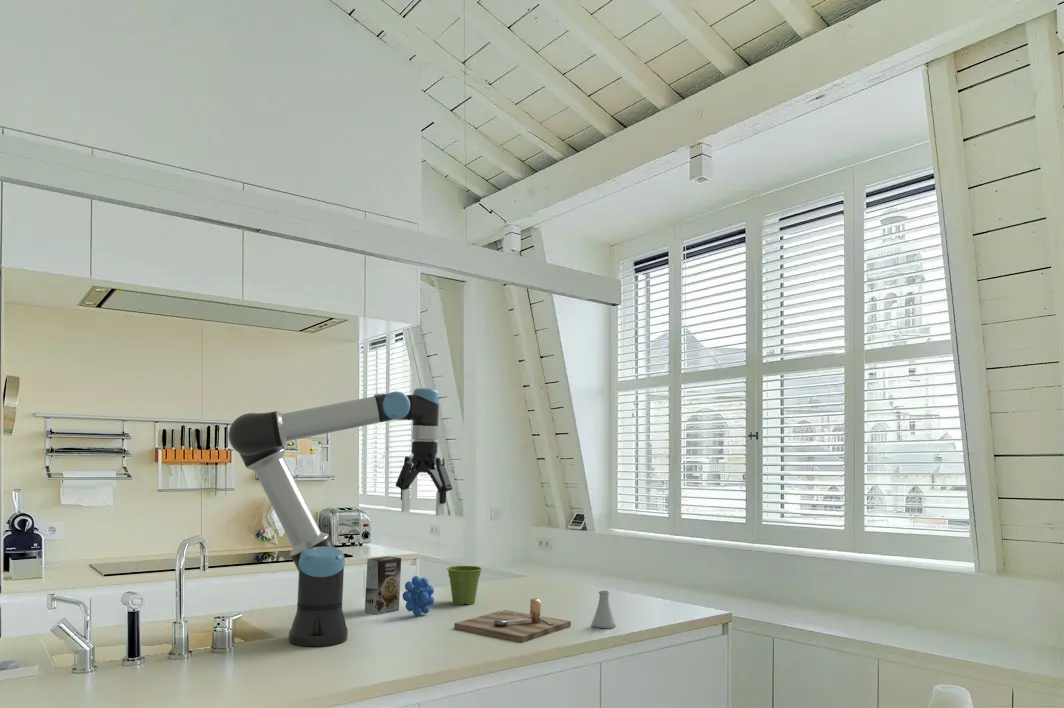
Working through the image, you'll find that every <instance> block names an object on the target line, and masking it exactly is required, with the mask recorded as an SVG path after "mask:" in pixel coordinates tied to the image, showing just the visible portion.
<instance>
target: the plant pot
mask: <svg viewBox="0 0 1064 708" xmlns="http://www.w3.org/2000/svg"><path fill="white" fill-rule="evenodd" d="M446 570H447V572H448V577H449V582H450V589H451V590H450V591H451V597H452V598H451V599H452V603H453V604H454V605H462V606H463V605H465V604H466V605H472V604H474V603H476V597H477V591H478V585H479V579H480V577H481V572H482V570H483V567H481V566H476V565H453V566H448V567H446Z"/></svg>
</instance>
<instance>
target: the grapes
mask: <svg viewBox="0 0 1064 708" xmlns="http://www.w3.org/2000/svg"><path fill="white" fill-rule="evenodd" d="M429 584H430V583H429V579H427V578H426V577H422V578H420V577H419V576H418V575H414V576H413V577H412V578H411V580H410V581H409V580H408V581H406V582H405V584H404V588H405V591H403V593H402V599H403V601H405V602H406V603H405V608H406V611H408V612H412V613H413V615H414V616H416V617H420V616H421V614H425V615H426V614H428V613H429V612H430V607H431V606H434V603H435V598H434V597H433V596H432V595H434V592H435V590H434V587H433V586H432V585H431V584H430V585H429Z"/></svg>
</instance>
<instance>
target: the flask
mask: <svg viewBox="0 0 1064 708" xmlns="http://www.w3.org/2000/svg"><path fill="white" fill-rule="evenodd" d="M598 594H599V599H598V605H597V608H596V611H595V613H594V616H593V619H592V621H591V626H592V627H594V628H599V629H613V628H615V627H616V622H615V618H614V616H613V613H612V609H611V606H610V599H609V595H610V591H609V590H598Z"/></svg>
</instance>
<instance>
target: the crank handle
mask: <svg viewBox="0 0 1064 708" xmlns="http://www.w3.org/2000/svg"><path fill="white" fill-rule="evenodd" d="M529 600H530V601H529V606H530V607H529V614H530V618H529V619H519V620H508V621H507V620H503V619H498V620H494V625H496V626H505V625H507V624H514V623H525V622H540V621H542V618H540V616H541V606H542V604H541V603H542V599H540V598H535V597H534V598H530V599H529Z"/></svg>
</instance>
